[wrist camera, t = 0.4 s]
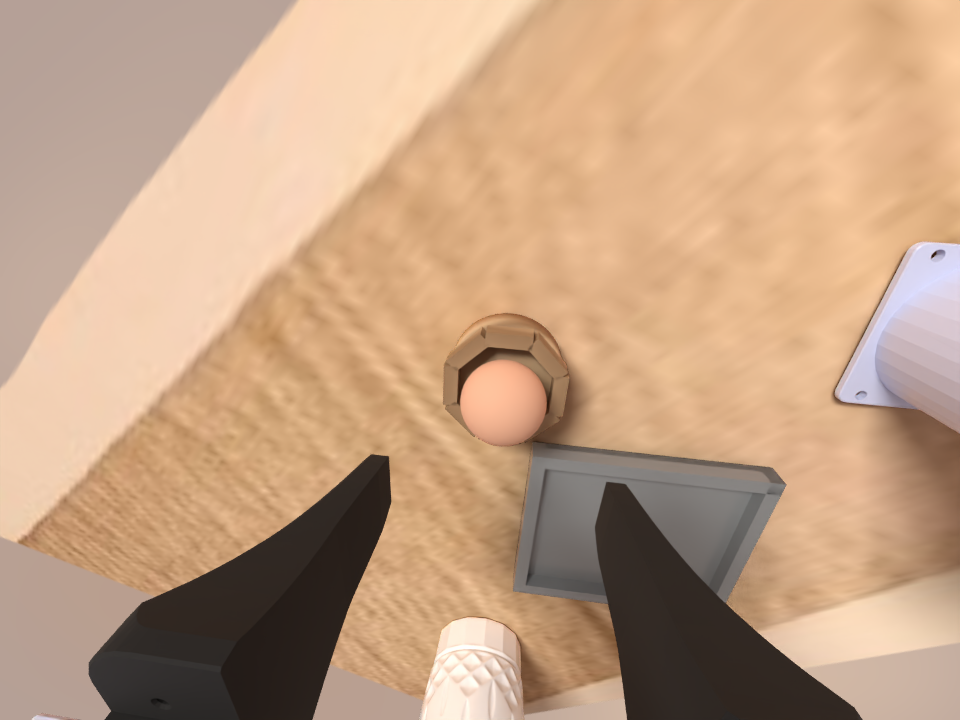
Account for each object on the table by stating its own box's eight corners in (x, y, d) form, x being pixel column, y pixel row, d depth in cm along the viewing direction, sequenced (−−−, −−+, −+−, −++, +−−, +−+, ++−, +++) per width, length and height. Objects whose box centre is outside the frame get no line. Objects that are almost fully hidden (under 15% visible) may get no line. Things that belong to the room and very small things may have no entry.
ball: (549, 350, 19) (555, 390, 16) (539, 418, 21) (542, 469, 17) (468, 342, 20) (455, 380, 16) (464, 410, 21) (452, 459, 18)
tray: (772, 467, 23) (786, 484, 22) (708, 598, 28) (717, 618, 27) (532, 441, 24) (532, 456, 23) (513, 573, 29) (513, 591, 28)
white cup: (546, 649, 33) (554, 829, 24) (477, 677, 36) (461, 847, 27) (482, 598, 31) (465, 773, 22) (414, 632, 34) (374, 799, 25)
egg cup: (569, 318, 21) (576, 340, 18) (553, 415, 23) (557, 447, 20) (455, 308, 21) (444, 328, 18) (451, 405, 24) (442, 435, 21)
